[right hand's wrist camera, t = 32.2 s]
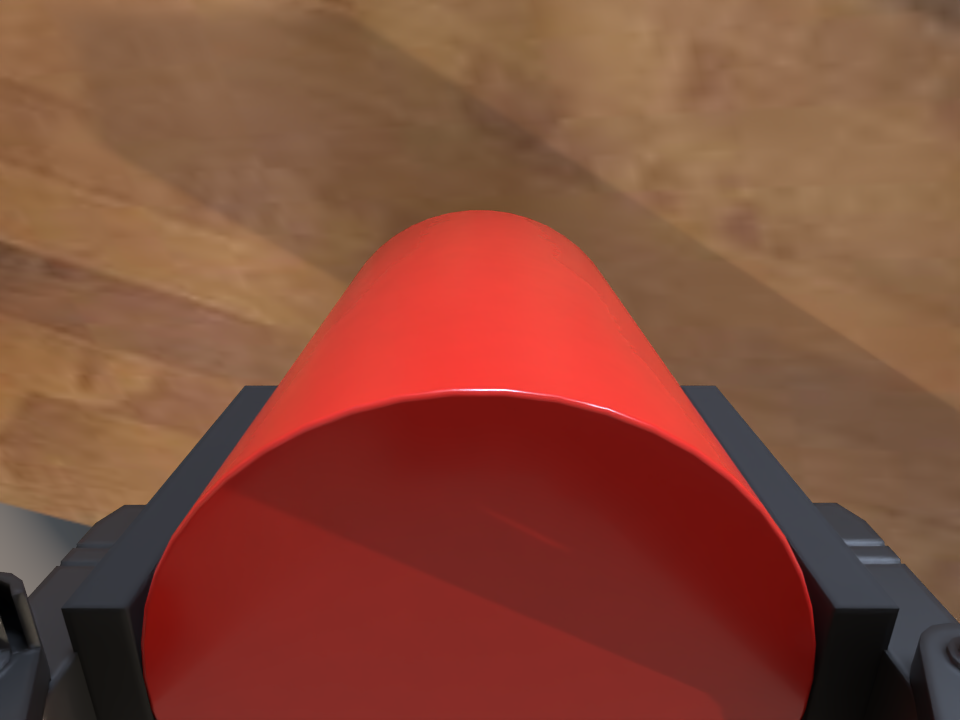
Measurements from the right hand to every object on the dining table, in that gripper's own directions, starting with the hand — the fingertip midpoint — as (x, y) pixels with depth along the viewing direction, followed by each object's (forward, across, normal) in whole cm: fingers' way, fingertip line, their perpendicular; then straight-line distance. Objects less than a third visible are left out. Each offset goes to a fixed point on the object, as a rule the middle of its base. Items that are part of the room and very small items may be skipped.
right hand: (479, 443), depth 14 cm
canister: (+5, 0, 0) cm, 5 cm away
